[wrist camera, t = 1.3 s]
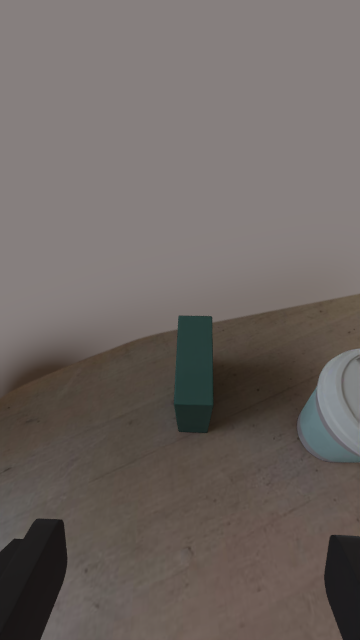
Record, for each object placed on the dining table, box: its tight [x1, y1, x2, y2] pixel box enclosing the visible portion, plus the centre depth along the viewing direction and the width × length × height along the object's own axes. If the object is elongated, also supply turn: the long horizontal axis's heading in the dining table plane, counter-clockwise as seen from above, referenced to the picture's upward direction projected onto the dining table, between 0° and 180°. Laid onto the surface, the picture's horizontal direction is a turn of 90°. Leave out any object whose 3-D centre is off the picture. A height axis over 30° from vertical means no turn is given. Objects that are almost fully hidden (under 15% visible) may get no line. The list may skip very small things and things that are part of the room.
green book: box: [174, 316, 213, 433], centre depth 29 cm, size 3×8×10 cm, turn 178°
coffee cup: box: [297, 349, 360, 462], centre depth 26 cm, size 8×9×12 cm
